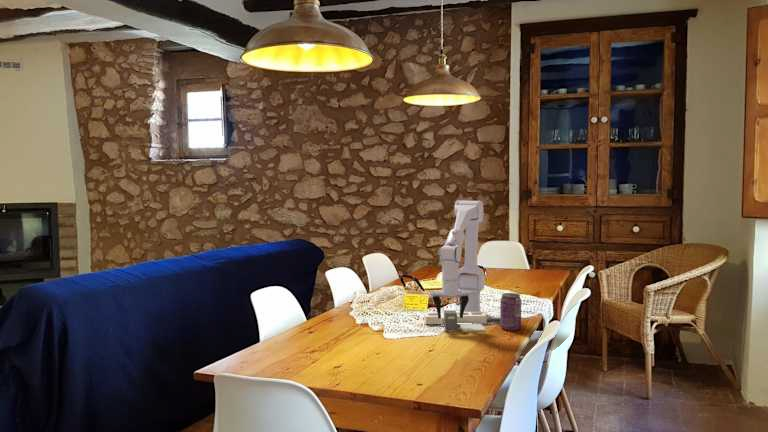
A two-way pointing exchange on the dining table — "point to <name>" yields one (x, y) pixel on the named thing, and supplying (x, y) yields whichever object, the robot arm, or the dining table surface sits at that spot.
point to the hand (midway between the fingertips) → (450, 317)
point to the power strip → (467, 318)
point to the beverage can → (510, 311)
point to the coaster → (471, 327)
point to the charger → (450, 320)
